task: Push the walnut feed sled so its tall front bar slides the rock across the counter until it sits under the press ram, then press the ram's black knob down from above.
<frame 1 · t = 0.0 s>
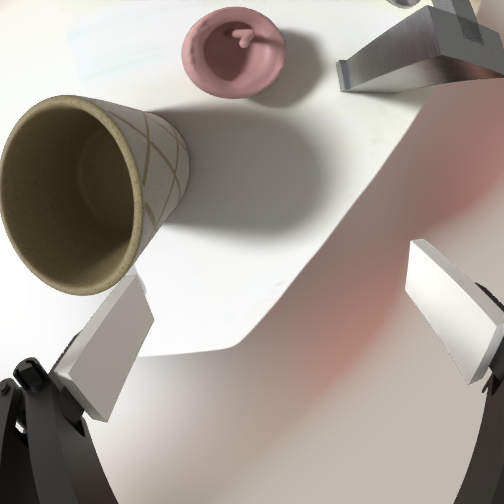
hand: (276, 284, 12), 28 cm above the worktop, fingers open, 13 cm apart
press frame: (357, 28, 27), on the worktop
mortar and pestle: (238, 64, 31), on the worktop
planter: (138, 167, 38), on the worktop
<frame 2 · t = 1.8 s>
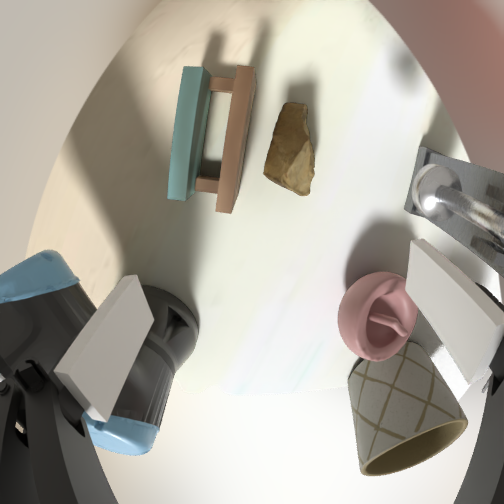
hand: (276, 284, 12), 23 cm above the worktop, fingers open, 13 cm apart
press frame: (373, 165, 31), on the worktop
rock: (297, 146, 31), on the worktop
feed sled: (211, 134, 27), point 4 cm above the worktop, slide at 0.0 cm
ram: (496, 223, 11), point 22 cm above the worktop, slide at 0.2 cm
mortar and pestle: (367, 291, 39), on the worktop
planter: (386, 368, 46), on the worktop
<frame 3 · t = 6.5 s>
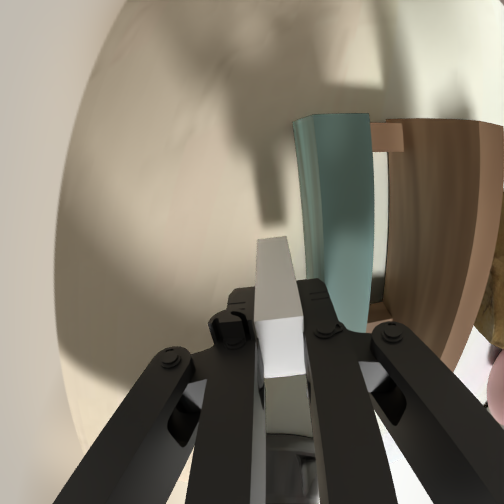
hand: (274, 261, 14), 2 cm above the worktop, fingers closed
rock: (459, 222, 16), on the worktop
feed sled: (384, 265, 12), point 4 cm above the worktop, slide at 1.0 cm, touching gripper
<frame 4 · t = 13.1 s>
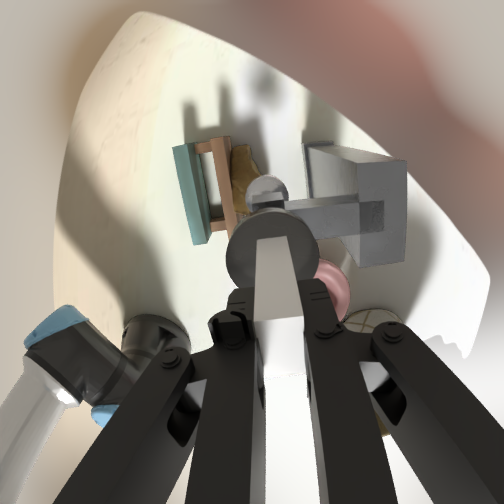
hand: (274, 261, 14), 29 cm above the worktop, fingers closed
press frame: (264, 177, 41), on the worktop
rock: (250, 179, 41), on the worktop, touching feed sled
feed sled: (210, 190, 38), point 4 cm above the worktop, slide at 11.8 cm, touching rock
ram: (268, 216, 22), point 20 cm above the worktop, slide at 1.5 cm, touching gripper
mortar and pestle: (307, 277, 48), on the worktop
planter: (364, 337, 53), on the worktop
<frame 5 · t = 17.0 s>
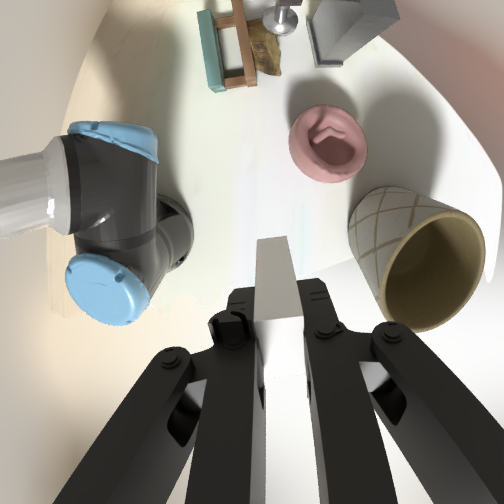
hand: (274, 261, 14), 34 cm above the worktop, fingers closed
press frame: (275, 47, 36), on the worktop
rock: (262, 48, 37), on the worktop, touching feed sled
feed sled: (226, 46, 33), point 4 cm above the worktop, slide at 11.8 cm, touching rock
mortar and pestle: (320, 142, 44), on the worktop
planter: (385, 227, 49), on the worktop
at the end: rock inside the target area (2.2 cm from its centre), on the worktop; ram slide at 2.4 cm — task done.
